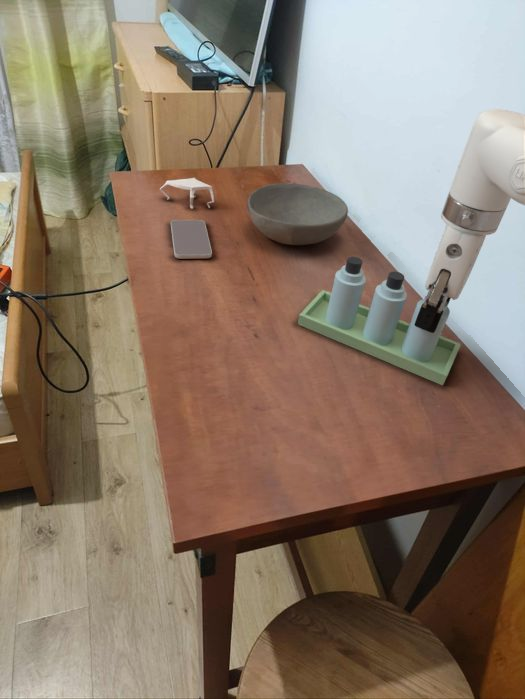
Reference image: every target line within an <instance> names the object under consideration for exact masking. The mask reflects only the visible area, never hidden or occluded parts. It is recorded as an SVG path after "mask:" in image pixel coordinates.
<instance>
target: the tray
mask: <svg viewBox="0 0 525 699" xmlns="http://www.w3.org/2000/svg"><path fill="white" fill-rule="evenodd" d="M330 296H331V292H330V291H327V290H325V289H321V291H320V292H318V294H317V295H316V296H314V298H313V299H312V300H311V302H310V303H308V305H307V306H306V307H305V308H304V309H303V310H302V311H301V312H300V314H299V315H298V320H297V325H298V326H301V327H303V328H305V329H308V330H309V331H312V332H315V333H317V334H320V335H321V336H324V337H327V338H329V339H332V340H334V341H336V342H339V343H340V344H343V345H346V346H348V347H350V348H353V349H355V350H357V351H360V352H362V353H365V354H366V355H370V356H372V357H374V358H376V359H379V360H380V361H383V362H385V363H388V364H391V365H392V366H395V367H397V368H400V369H402V370H405V371H407V372H409V373H412V374H414V375H417V376H419V377H421V378H424V379H426V380H429V381H431V382H432V383H434V384H435V383H436V384H438V385H440V386H443V387H444V384H445V383H446V380H447V379H448V376H449V373H450V371H451V368H452V366H453V364H454V362H455V359H456V357H457V354H458V352H459V350H460V348H461V346H462V343H460V342H457V341H455V340H452V339H451V338H447V337H445V336H442V335H440V337H439V340H438V342H437V345H436V347H435V349H434V352H433V354H432V356H431V358H430V359H429V360H428V361H424V362H420V361H417V360H415V359H412V358H410V357H408V356H405V355H404V354H403V352H402V349H401V347H402V344H403V341H404V339H405V336H406V333H407V330H408V328H409V325H410V322H407V321H404V320H401V319H399V321H398V324H397V327H396V330H395V333H394V335H393V338H392V341H391V342H390V343H389V344H387V345H378V344H376V343H374V342H371V341H369V340H366V339H365V338H364V336H363V330H364V327H365V323H366V320H367V317H368V313H369V310H370V307H368V306H366V305H363V304H361V303H360V304H359V307H358V311H357V314H356V318H355V322H354V325H353V326H352V327H351V328H349V329H340V328H337V327H335V326H333V325H330V324H328V323H327V322H326V314H327V309H328V305H329V301H330Z"/></svg>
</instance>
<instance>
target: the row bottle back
mask: <svg viewBox="0 0 525 699" xmlns="http://www.w3.org/2000/svg"><path fill="white" fill-rule="evenodd" d="M362 265H363V260H362V259H361V258H360V257H358V256H348V258H347V259H346V264H345V265H343V266H342V267H341V268H340V269H339V270H337V271H336V272H335V274H334V278H333V279H334V280H333V284H332V288H331V292H330V293H331V296H330V301H329V305H328V309H327V314H326V322H327V323H328V324H330V325H333V326H335V327H337V328H340V329H349V328H351V327H352V326H353V325H354V322H355V318H356V314H357V311H358V307H359V304H361V300H362V297H363V292H364V288H365V285H366V282H367V277H366V276H365V275H364V270H363V269H362Z"/></svg>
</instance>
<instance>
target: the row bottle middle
mask: <svg viewBox="0 0 525 699" xmlns="http://www.w3.org/2000/svg"><path fill="white" fill-rule="evenodd" d="M404 281H405V275H404V273H402V272H399V271H396V270H395V271H394V270H393V271H390V272H389V273H388V276H387V279H385V280H383V281H382V282H381V283H380V284H378V285H377V286H376V287H375V289H374V293H373V297H372V300H371V302H370V305H369V306H370V307H369V308H370V310H369V313H368V317H367V320H366V323H365V327H364V330H363V336H364V338H365V339H366V340H369V341H371V342H374V343H376V344H378V345H387V344H389V343H390V342H391V341H392V338H393V335H394V333H395V330H396V327H397V324H398V321H399V320H400V319H401V315H402V312H403V310H404V306H405V304H406V301H407V298H408V293H407V291H406V287H405V285H404V284H403V283H404Z"/></svg>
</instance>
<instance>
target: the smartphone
mask: <svg viewBox="0 0 525 699" xmlns="http://www.w3.org/2000/svg"><path fill="white" fill-rule="evenodd" d="M170 229H171V230H170V231H171V239H172V247H173V256H174V257H175V259H182V260H183V259H187V260H188V259H210V258H212V256H213V252H212V247H211V242H210V238H209V233H208V229H207V224H206V222H205V220H202V219H173V220H171V221H170Z"/></svg>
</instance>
